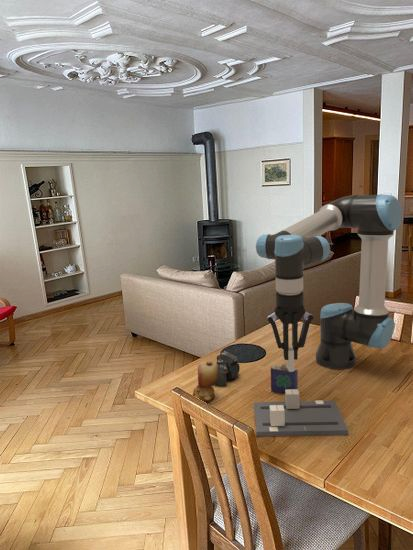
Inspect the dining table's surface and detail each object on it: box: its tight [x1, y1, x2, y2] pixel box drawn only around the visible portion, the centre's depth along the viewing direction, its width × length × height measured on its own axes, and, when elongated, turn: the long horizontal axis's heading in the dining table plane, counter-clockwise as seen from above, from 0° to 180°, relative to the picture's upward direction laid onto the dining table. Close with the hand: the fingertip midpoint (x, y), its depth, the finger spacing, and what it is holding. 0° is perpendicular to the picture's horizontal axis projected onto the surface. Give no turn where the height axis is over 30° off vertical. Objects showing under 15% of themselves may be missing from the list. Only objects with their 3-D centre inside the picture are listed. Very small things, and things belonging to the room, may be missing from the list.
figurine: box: [192, 359, 218, 403], centre depth 140 cm, size 10×8×15 cm
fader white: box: [270, 405, 285, 426], centre depth 121 cm, size 4×3×5 cm
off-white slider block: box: [284, 388, 300, 409], centre depth 129 cm, size 4×3×5 cm
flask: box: [270, 362, 299, 395], centre depth 141 cm, size 9×3×11 cm, turn 74°
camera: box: [213, 350, 241, 388], centre depth 153 cm, size 13×10×10 cm
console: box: [253, 400, 349, 437], centre depth 125 cm, size 26×16×2 cm, turn 87°
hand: (290, 369), depth 119 cm, fingers closed
